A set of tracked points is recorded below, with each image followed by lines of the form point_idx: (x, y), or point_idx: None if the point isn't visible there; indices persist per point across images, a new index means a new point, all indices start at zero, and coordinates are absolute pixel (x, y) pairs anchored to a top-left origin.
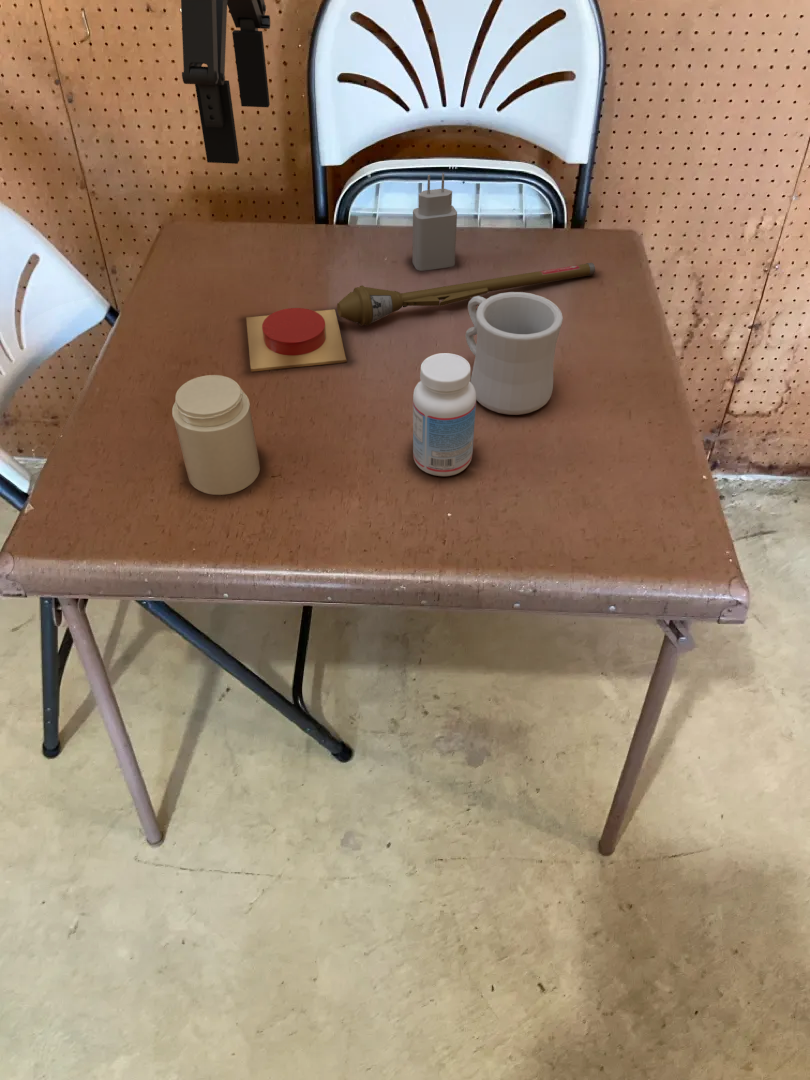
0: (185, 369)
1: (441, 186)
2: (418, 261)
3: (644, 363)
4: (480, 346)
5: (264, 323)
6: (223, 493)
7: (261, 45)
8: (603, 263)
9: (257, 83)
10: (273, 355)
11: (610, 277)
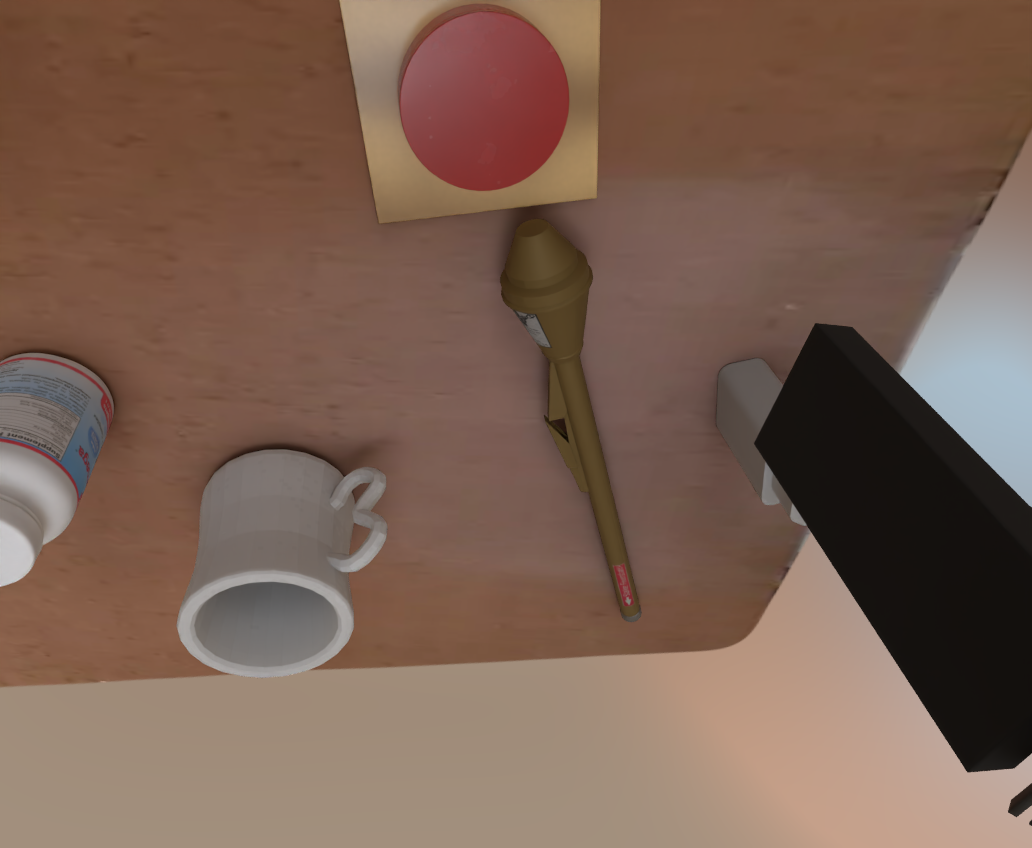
0: None
1: None
2: (730, 380)
3: (373, 646)
4: (238, 537)
5: (499, 19)
6: None
7: (922, 699)
8: (657, 618)
9: (830, 488)
10: (400, 34)
11: (614, 624)
